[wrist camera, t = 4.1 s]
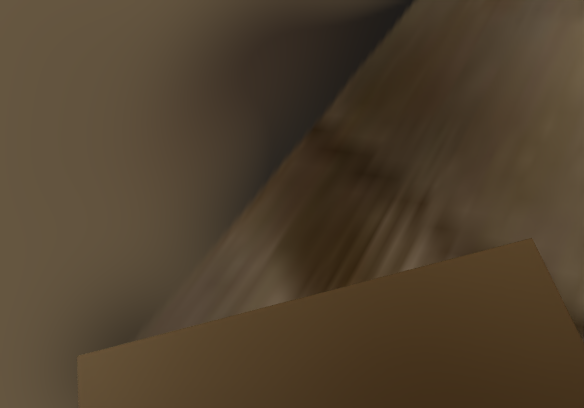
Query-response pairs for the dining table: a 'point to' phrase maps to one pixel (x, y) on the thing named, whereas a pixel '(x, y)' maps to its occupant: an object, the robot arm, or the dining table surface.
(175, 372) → the oak block
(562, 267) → the dining table surface
